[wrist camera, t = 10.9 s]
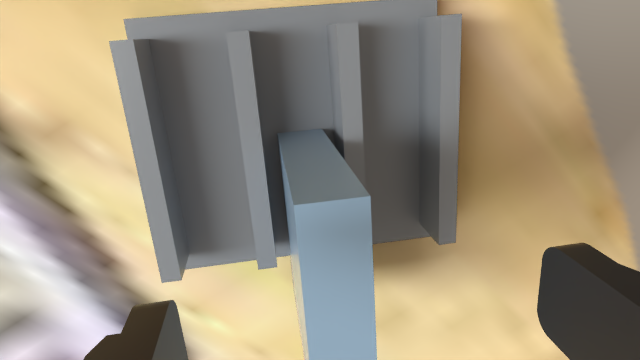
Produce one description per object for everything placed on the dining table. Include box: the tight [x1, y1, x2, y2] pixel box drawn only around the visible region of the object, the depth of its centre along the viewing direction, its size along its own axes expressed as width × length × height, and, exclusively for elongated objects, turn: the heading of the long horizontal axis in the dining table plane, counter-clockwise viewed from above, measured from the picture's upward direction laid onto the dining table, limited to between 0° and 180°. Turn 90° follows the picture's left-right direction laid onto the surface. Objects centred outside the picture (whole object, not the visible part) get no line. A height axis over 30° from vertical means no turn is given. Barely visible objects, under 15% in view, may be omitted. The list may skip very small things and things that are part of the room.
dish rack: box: [109, 0, 462, 283], centre depth 24 cm, size 14×16×4 cm
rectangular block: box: [277, 129, 377, 360], centre depth 21 cm, size 10×2×11 cm, turn 4°
